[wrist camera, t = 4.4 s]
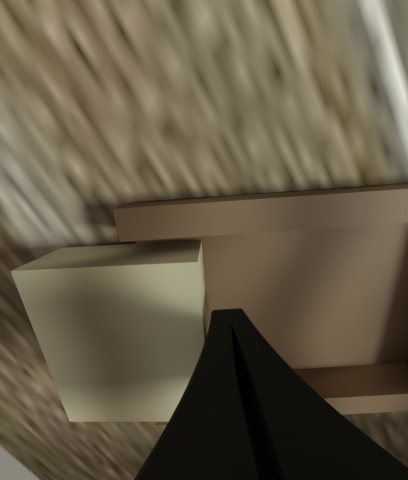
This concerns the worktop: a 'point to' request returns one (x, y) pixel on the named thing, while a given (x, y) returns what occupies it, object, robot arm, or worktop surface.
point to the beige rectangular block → (118, 326)
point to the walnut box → (305, 279)
